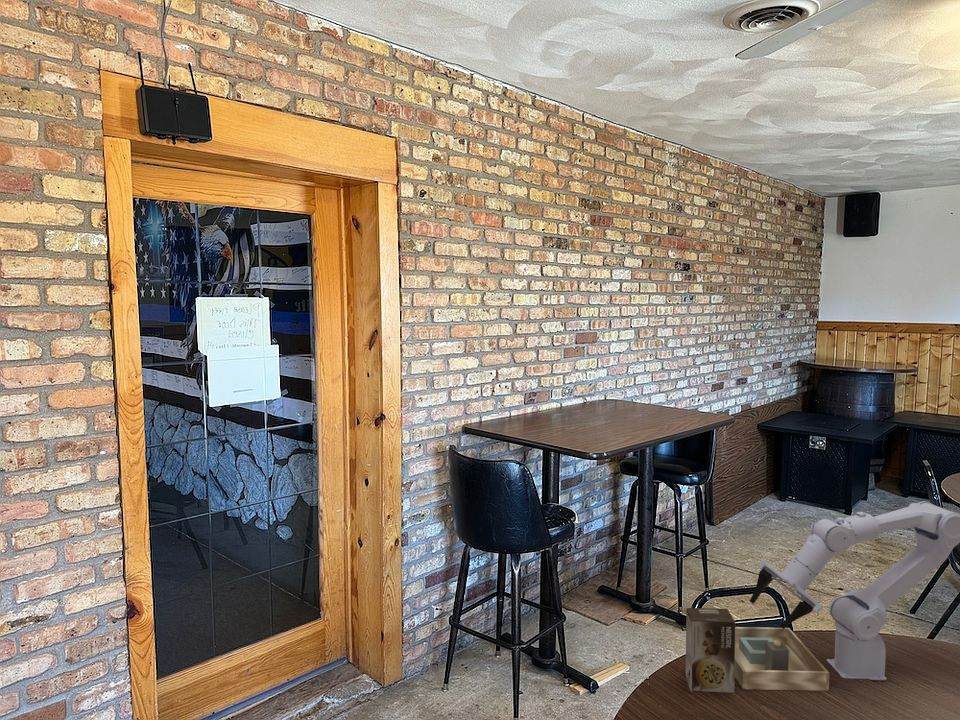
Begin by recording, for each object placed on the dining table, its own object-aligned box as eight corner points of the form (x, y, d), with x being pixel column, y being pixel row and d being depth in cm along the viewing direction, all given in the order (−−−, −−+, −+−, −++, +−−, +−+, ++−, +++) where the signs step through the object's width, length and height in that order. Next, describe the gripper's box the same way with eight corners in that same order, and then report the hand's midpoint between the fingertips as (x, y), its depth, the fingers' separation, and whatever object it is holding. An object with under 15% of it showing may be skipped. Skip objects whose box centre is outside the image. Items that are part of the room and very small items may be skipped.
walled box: (788, 645, 161) (789, 627, 161) (828, 693, 141) (829, 672, 141) (713, 644, 162) (713, 626, 162) (742, 691, 142) (743, 671, 142)
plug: (781, 672, 148) (782, 637, 148) (787, 681, 145) (789, 646, 144) (764, 672, 149) (765, 637, 148) (771, 681, 145) (772, 645, 144)
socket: (770, 647, 159) (770, 637, 159) (783, 664, 152) (783, 653, 152) (738, 647, 160) (739, 637, 159) (750, 663, 152) (750, 653, 152)
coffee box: (726, 679, 147) (728, 608, 146) (734, 695, 141) (736, 621, 139) (684, 676, 148) (685, 606, 147) (690, 693, 142) (692, 620, 140)
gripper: (773, 542, 148) (735, 589, 148) (835, 588, 140) (794, 638, 140) (777, 546, 154) (740, 592, 154) (836, 591, 145) (797, 640, 145)
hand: (766, 614), depth 147 cm, fingers open, 7 cm apart
